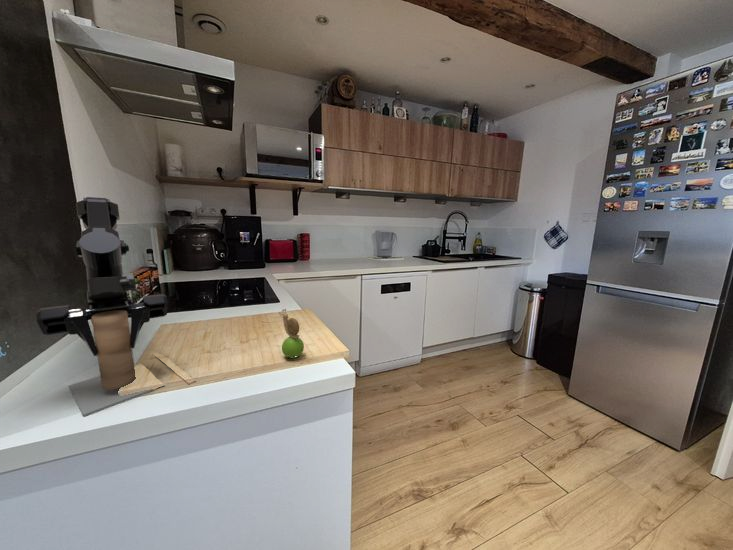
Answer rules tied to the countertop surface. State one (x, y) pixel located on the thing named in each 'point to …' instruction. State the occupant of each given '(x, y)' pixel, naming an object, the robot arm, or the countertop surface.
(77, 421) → the countertop surface
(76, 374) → the countertop surface
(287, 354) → the snail figurine
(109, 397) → the mat
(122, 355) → the smooth brown cylinder
